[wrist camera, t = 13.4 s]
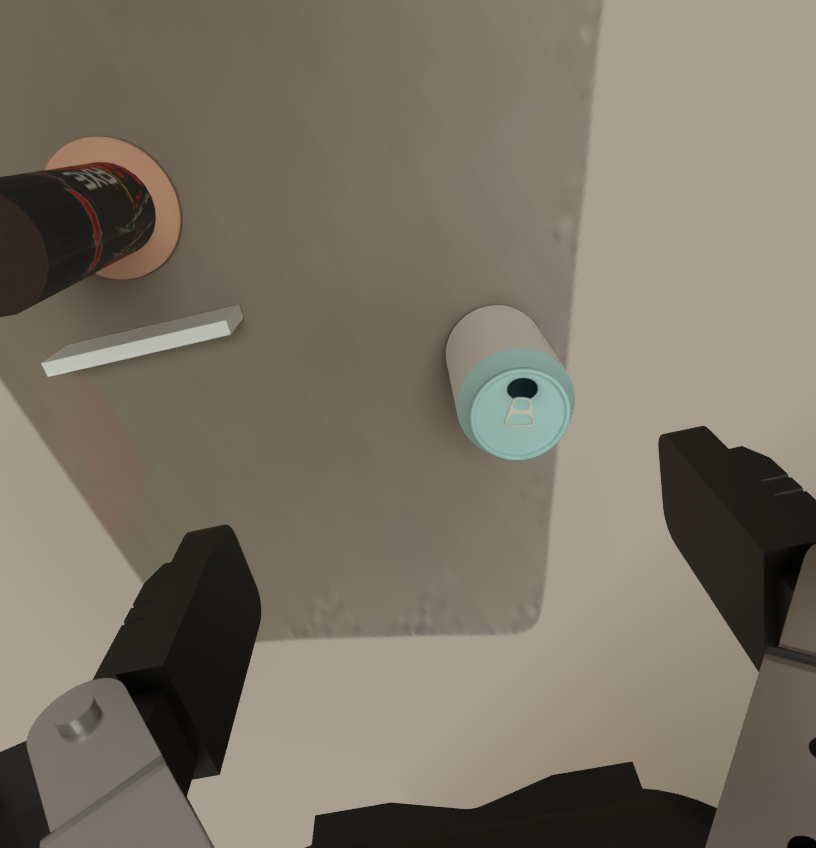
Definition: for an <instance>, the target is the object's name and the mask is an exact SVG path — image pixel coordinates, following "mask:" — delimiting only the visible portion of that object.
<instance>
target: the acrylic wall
mask: <svg viewBox="0 0 816 848" xmlns="http://www.w3.org/2000/svg"><path fill="white" fill-rule="evenodd" d="M242 319H243V315H242V312H241V309H240V306H239V304H238V305H234V306H230V307H226V308H222V309H217V310H213V311H209V312H205V313H200V314H196V315H192V316H188V317H183V318H179V319H175V320H171V321H166V322H162V323H158V324H154V325H150V326H145V327H141V328H137V329H133V330H128V331H124V332H120V333H116V334H111V335H107V336H103V337H99V338H94V339H90V340H86V341H82V342H78V343H73V344H69V345H67V346H65V347H64V348H63V349H61V350H60V351H58V352H57V353H55V354H54V355H53V356H51V357H50V358H48V359H47V360H45V361H44V362H43V363H41V364H42V366H43V368H44V370H45V372H46V374H47V376H48V377H50V376H55V375H59V374H63V373H68V372H72V371H76V370H81V369H85V368H89V367H93V366H98V365H102V364H106V363H111V362H115V361H119V360H124V359H128V358H132V357H136V356H141V355H145V354H149V353H154V352H158V351H162V350H167V349H171V348H175V347H179V346H184V345H188V344H192V343H197V342H201V341H205V340H210V339H214V338H218V337H222V336H227V335H231V334H232V332H233V331H234V330H235V328H236V327H237V326H238V324H239V323H240V322H241V320H242Z"/></svg>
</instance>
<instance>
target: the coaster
mask: <svg viewBox="0 0 816 848" xmlns="http://www.w3.org/2000/svg"><path fill="white" fill-rule="evenodd" d="M94 162H108V163H114V164H116V165H119V166H122V167H124V168H126V169H127V170H129V171H130V172H132V173H133V174H135V175H136V176H137V177H138V178H139V179H140V180H141V181H142V182H143V183H144V184H145V186H146V188H147V190H148V191H149V193H150V195H151V197H152V200H153V203H154V206H155V214H156V222H155V227H154V232H153V234H152V236H151V237H150V239H149V241H148V242H147V243H146V244H145V245H144V246H143V247H142V248H141V249H140V250H138V251H136V252H134V253H132V254H130V255H128V256H126V257H124V258H123V259H121V260H119V261H117V262H115V263H113V264H111V265H109V266H107V267H105V268H103V269H102V270H100V271H98V272H96V273H94V274H97V275H99V276H102V277H107V278H111V279H132V278H137V277H140V276H143V275H146V274H148V273H150V272H152V271H154V270H155V269H157V268H158V267H159V266H161V265H162V264H163V263H164V262H165V261H166V260H167V259H168V258H169V257H170V255H171V254H172V253H173V251H174V249H175V247H176V245H177V243H178V240H179V237H180V233H181V226H182V212H181V206H180V201H179V198H178V195H177V192H176V190H175V187H174V185H173V183H172V181H171V180H170V178H169V176H168V175H167V173H166V172H165V171H164V169H163V168H162V167H161V166H160V165H159V164H158V162H157V161H156V160H155V159H153V158H152V157H151V156H150V155H149V154H148V153H146V152H145V151H143V150H142V149H140V148H139V147H137V146H135V145H133V144H131V143H129V142H126V141H123V140H120V139H116V138H112V137H103V136H102V137H87V138H82V139H78V140H75V141H72V142H70V143H69V144H67V145H65V146H63V147H62V148H61V149H60V150H58V151H57V152H56V153H55V154H54V155H53V156H52V158H51V159H50V161H49V162H48V163H47V165H46V167H45V169H44V170H50V169H56V168H63V167H69V166H75V165H82V164H88V163H94Z"/></svg>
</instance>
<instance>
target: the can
mask: <svg viewBox="0 0 816 848" xmlns="http://www.w3.org/2000/svg"><path fill="white" fill-rule="evenodd" d="M446 362H447V367H448V372H449V377H450V382H451V387H452V391H453V396H454V401H455V406H456V411H457V416H458V420H459V423H460V426H461V428H462V430H463V431H464V433H465V435H466V436H467V437H468V438H469V439H470V441H471V442H473V443H474V444H475V445H476V446H477V447H479V448H480V449H482V450H484V451H486V452H488V453H490V454H492V455H494V456H497V457H499V458H503V459H507V460H526V459H530V458H534V457H537V456H539V455H541V454H543V453H545V452H547V451H548V450H550V449H551V448H552V447H553V446H555V445H556V444H557V443H558V441H559V440H560V439H561V438H562V436H563V435H564V432H565V431H566V429H567V427H568V424H569V422H570V419H571V417H572V414H573V409H574V401H575V399H574V398H575V395H574V389H573V384H572V382H571V379H570V377H569V375H568V373H567V372H566V370H565V369H564V367H563V366H562V364H561V363H560V361H559V360H558V358H557V357H556V355H555V354H554V352H553V351H552V349H551V348H550V346H549V345H548V343H547V342H546V340H545V339H544V337H543V336H542V334H541V333H540V331H539V330H538V328H537V327H536V325H535V324H534V322H533V321H532V320H531V319H530V318H529V317H528V316H527V315H526V314H524V313H523V312H521V311H519V310H517V309H515V308H512V307H508V306H502V305H492V306H486V307H482V308H479V309H477V310H474V311H472V312H471V313H469V314H468V315H466V316H465V317H464V318H462V319H461V320H460V321H459V322H458V323H457V325H456V326H455V327H454V329H453V330H452V332H451V334H450V336H449V339H448V342H447V346H446Z"/></svg>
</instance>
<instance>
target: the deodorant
mask: <svg viewBox="0 0 816 848" xmlns="http://www.w3.org/2000/svg"><path fill="white" fill-rule="evenodd" d="M155 222H156V214H155V206H154V203H153V200H152V197H151V195H150V193H149V191H148V190H147V188H146V186H145V184H144V183H143V182H142V181H141V180H140V179H139V178H138V177H137V176H136V175H135V174H133V173H132V172H130V171H129V170H127V169H126V168H124V167H122V166H119V165H116V164H114V163H108V162H94V163H88V164H82V165H75V166H69V167H63V168H56V169H50V170H44V171H37V172H31V173H25V174H18V175H12V176H6V177H0V317H3V316H9V315H14V314H18V313H20V312H22V311H24V310H25V309H27V308H29V307H31V306H33V305H35V304H37V303H39V302H41V301H43V300H45V299H46V298H48V297H50V296H52V295H54V294H56V293H58V292H60V291H62V290H64V289H65V288H67V287H69V286H71V285H73V284H75V283H77V282H79V281H81V280H83V279H84V278H86V277H88V276H90V275H92V274H94V273H96V272H98V271H100V270H102V269H103V268H105V267H107V266H109V265H111V264H113V263H115V262H117V261H119V260H121V259H123V258H124V257H126V256H128V255H130V254H132V253H134V252H136V251H138V250H140V249H141V248H142V247H143V246H144V245H145V244H146V243H147V242H148V241H149V239H150V237H151V236H152V234H153V232H154V227H155Z"/></svg>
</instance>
